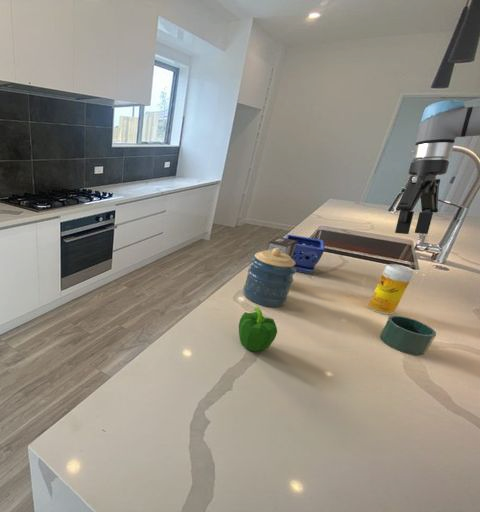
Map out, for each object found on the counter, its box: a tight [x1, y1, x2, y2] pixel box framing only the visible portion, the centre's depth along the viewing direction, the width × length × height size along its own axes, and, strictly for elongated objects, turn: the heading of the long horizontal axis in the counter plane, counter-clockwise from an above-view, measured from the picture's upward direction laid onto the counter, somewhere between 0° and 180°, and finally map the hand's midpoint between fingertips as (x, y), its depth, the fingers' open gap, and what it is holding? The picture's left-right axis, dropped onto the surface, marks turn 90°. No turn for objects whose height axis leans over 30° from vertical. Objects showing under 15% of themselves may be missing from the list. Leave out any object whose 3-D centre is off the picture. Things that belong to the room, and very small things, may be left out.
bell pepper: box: [238, 306, 278, 352], centre depth 74 cm, size 8×8×10 cm
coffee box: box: [266, 236, 297, 258], centre depth 108 cm, size 9×6×16 cm
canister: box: [242, 248, 297, 308], centre depth 96 cm, size 13×13×18 cm
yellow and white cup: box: [368, 263, 414, 316], centre depth 92 cm, size 6×6×15 cm
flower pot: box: [285, 234, 326, 274], centre depth 121 cm, size 13×13×12 cm
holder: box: [379, 315, 437, 356], centre depth 78 cm, size 9×9×6 cm
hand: (411, 233), depth 90 cm, fingers open, 13 cm apart
